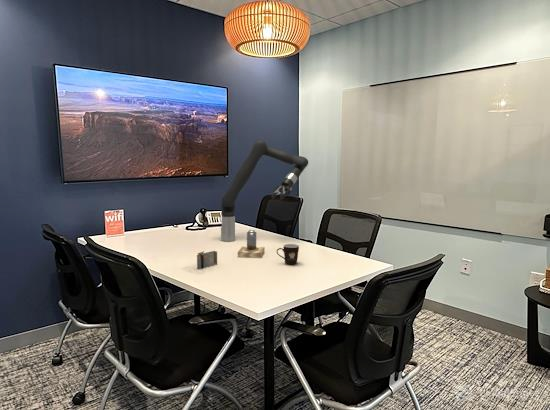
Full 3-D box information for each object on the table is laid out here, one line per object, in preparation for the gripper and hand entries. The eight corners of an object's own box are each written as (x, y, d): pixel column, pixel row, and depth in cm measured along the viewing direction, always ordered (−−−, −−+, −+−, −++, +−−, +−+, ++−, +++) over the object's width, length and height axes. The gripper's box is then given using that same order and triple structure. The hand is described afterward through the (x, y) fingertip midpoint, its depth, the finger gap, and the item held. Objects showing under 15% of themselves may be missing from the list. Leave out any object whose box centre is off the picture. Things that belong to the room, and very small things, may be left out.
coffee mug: (300, 262, 205) (300, 244, 204) (296, 266, 197) (296, 248, 196) (280, 260, 209) (280, 243, 208) (275, 264, 201) (275, 246, 200)
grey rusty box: (200, 270, 191) (200, 251, 189) (197, 269, 193) (196, 250, 191) (217, 265, 199) (217, 248, 198) (214, 264, 201) (214, 247, 200)
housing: (246, 249, 218) (246, 231, 217) (247, 247, 224) (247, 229, 223) (255, 250, 218) (255, 231, 216) (256, 247, 223) (256, 230, 222)
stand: (237, 257, 215) (237, 251, 214) (242, 251, 229) (242, 245, 228) (261, 257, 214) (261, 252, 213) (264, 251, 227) (264, 246, 227)
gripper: (279, 176, 255) (266, 194, 249) (293, 177, 244) (280, 195, 239) (285, 184, 259) (272, 201, 253) (299, 185, 248) (286, 203, 243)
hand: (276, 198), depth 246 cm, fingers open, 8 cm apart
